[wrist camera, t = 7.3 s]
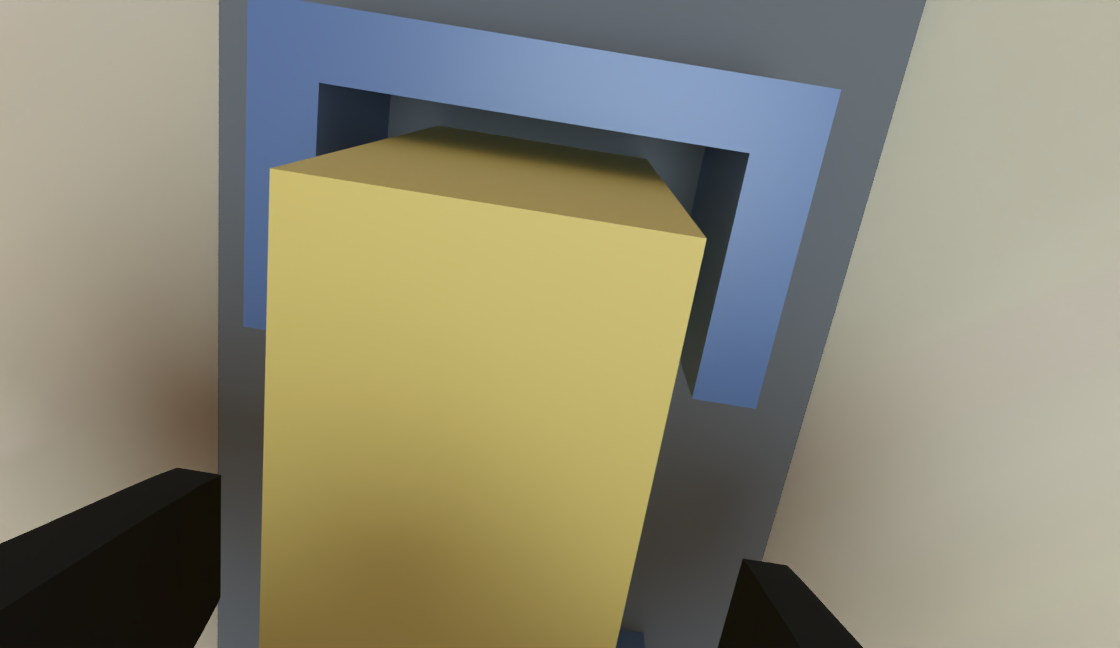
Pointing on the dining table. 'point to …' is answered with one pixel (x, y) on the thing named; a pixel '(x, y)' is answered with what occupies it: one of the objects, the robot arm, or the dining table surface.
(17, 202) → the dining table surface
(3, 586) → the robot arm
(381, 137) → the end cap
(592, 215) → the slat
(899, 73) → the mat
